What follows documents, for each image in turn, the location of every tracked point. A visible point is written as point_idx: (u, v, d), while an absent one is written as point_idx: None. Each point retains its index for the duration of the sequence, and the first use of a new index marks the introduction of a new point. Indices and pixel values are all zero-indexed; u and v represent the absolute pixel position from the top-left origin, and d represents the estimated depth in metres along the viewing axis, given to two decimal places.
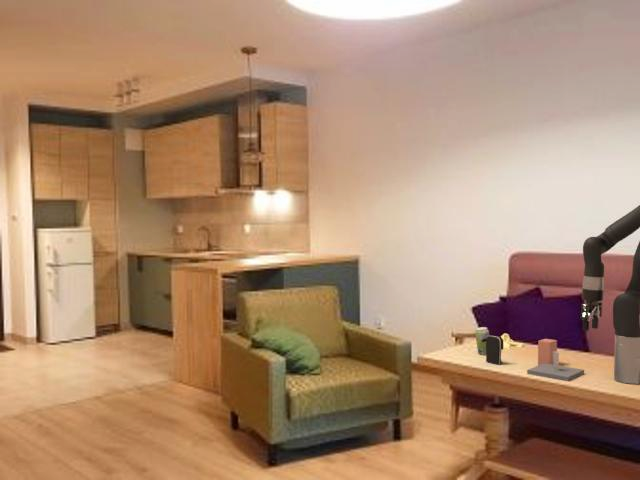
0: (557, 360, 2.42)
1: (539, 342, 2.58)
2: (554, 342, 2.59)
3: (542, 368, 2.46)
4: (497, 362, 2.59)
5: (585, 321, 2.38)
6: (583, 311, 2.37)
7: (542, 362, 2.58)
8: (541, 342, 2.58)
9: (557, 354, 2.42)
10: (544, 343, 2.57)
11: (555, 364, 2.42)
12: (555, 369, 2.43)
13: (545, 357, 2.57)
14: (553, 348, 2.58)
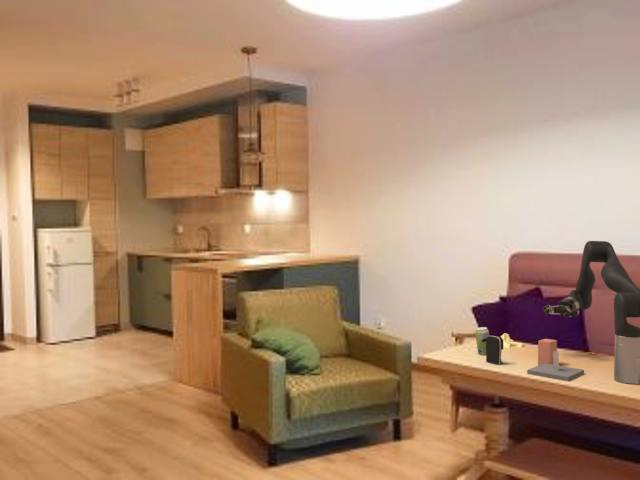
0: (557, 360, 2.42)
1: (539, 342, 2.58)
2: (554, 342, 2.59)
3: (542, 368, 2.46)
4: (497, 362, 2.59)
5: None
6: None
7: (542, 362, 2.58)
8: (541, 342, 2.58)
9: (557, 354, 2.42)
10: (544, 343, 2.57)
11: (555, 364, 2.42)
12: (555, 369, 2.43)
13: (545, 357, 2.57)
14: (553, 348, 2.58)
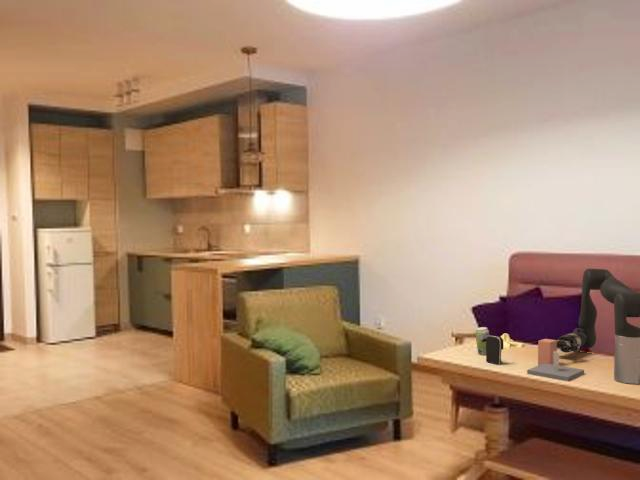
0: (557, 360, 2.42)
1: (539, 342, 2.58)
2: (554, 342, 2.59)
3: (542, 368, 2.46)
4: (497, 362, 2.59)
5: None
6: None
7: (542, 362, 2.58)
8: (541, 342, 2.58)
9: (557, 354, 2.42)
10: (544, 343, 2.57)
11: (555, 364, 2.42)
12: (555, 369, 2.43)
13: (545, 357, 2.57)
14: (553, 348, 2.58)
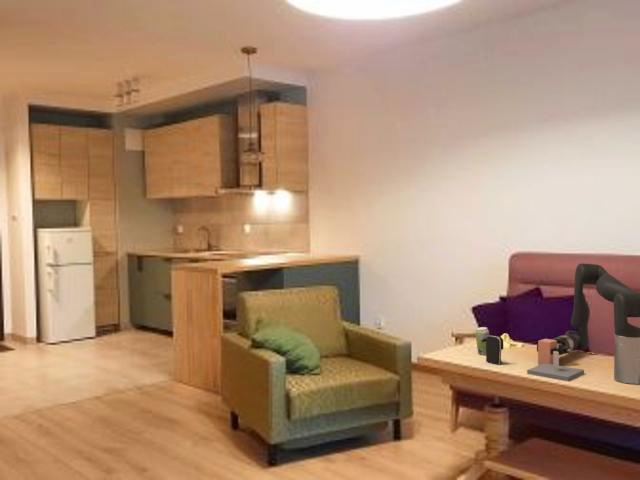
0: (557, 360, 2.42)
1: (539, 342, 2.58)
2: (554, 342, 2.59)
3: (542, 368, 2.46)
4: (497, 362, 2.59)
5: None
6: None
7: (542, 362, 2.58)
8: (541, 342, 2.58)
9: (557, 354, 2.42)
10: (544, 343, 2.57)
11: (555, 364, 2.42)
12: (555, 369, 2.43)
13: (545, 357, 2.57)
14: None
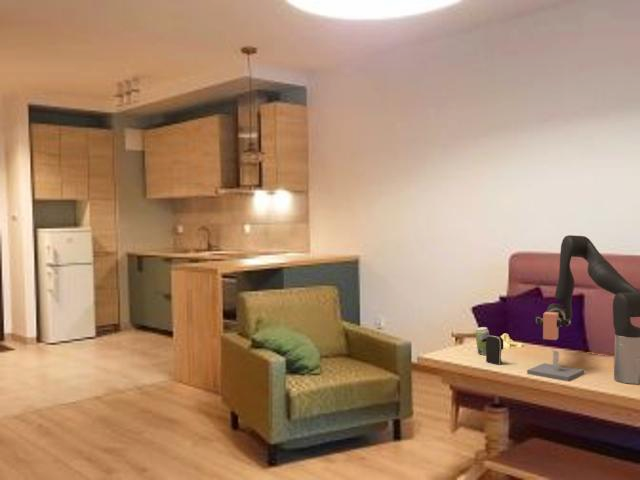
0: (557, 360, 2.42)
1: (544, 315, 2.48)
2: (557, 314, 2.50)
3: (542, 368, 2.46)
4: (497, 362, 2.59)
5: None
6: (536, 320, 2.57)
7: (548, 336, 2.48)
8: (546, 315, 2.48)
9: (557, 354, 2.42)
10: (550, 316, 2.47)
11: (555, 364, 2.42)
12: (555, 369, 2.43)
13: (551, 330, 2.47)
14: None
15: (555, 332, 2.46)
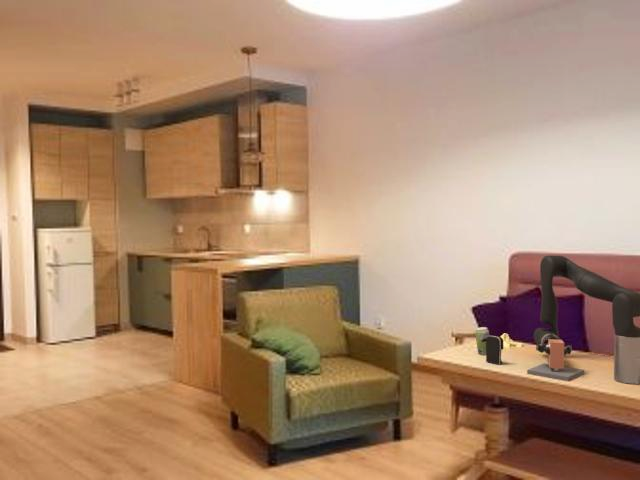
0: None
1: (551, 344, 2.41)
2: (562, 342, 2.44)
3: (542, 368, 2.46)
4: (497, 362, 2.59)
5: (545, 349, 2.46)
6: (538, 348, 2.50)
7: (555, 365, 2.41)
8: (554, 343, 2.41)
9: None
10: (557, 344, 2.40)
11: None
12: (555, 369, 2.43)
13: (558, 359, 2.41)
14: None
15: (562, 361, 2.40)
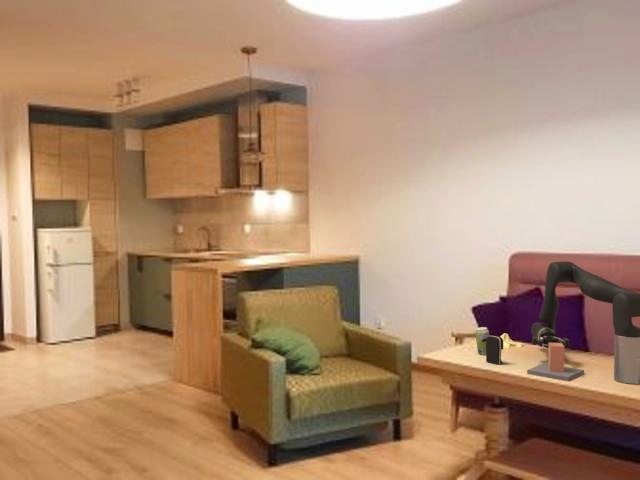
0: None
1: (551, 347, 2.41)
2: None
3: (542, 368, 2.46)
4: (497, 362, 2.59)
5: (537, 341, 2.60)
6: None
7: (555, 368, 2.41)
8: (554, 347, 2.41)
9: None
10: (557, 348, 2.41)
11: None
12: None
13: (558, 362, 2.41)
14: None
15: (563, 364, 2.40)
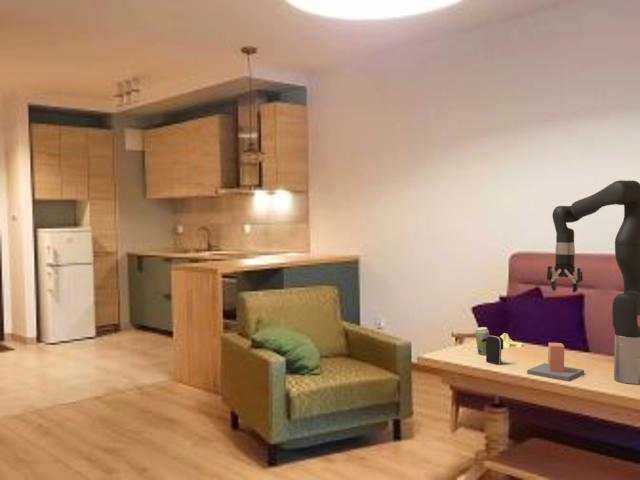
0: None
1: (551, 347, 2.41)
2: None
3: (542, 368, 2.46)
4: (497, 362, 2.59)
5: None
6: None
7: (555, 368, 2.41)
8: (554, 347, 2.41)
9: None
10: (557, 348, 2.41)
11: None
12: None
13: (558, 362, 2.41)
14: None
15: (563, 364, 2.40)
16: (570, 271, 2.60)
